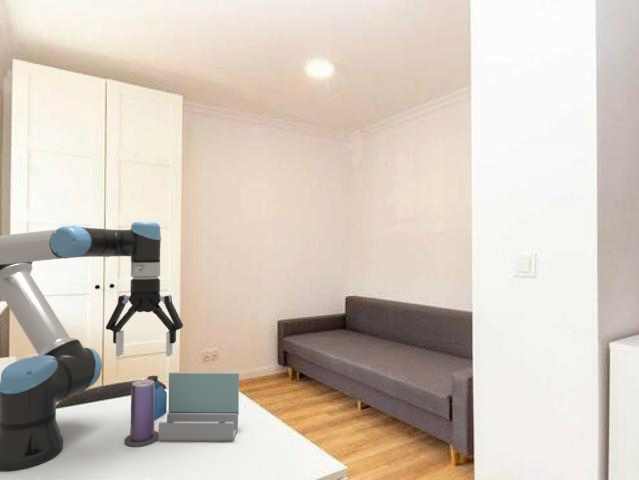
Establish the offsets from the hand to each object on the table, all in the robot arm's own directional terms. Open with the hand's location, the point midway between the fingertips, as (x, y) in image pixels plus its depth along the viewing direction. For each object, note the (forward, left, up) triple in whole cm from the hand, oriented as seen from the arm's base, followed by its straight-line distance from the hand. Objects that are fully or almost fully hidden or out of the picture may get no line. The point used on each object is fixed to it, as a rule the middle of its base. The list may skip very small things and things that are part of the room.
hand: (144, 355), depth 112 cm
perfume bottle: (-4, +16, -23) cm, 28 cm away
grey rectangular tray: (+15, +2, -23) cm, 27 cm away
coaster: (0, 0, -23) cm, 23 cm away
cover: (+15, +5, -12) cm, 20 cm away
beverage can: (0, 0, -22) cm, 23 cm away
